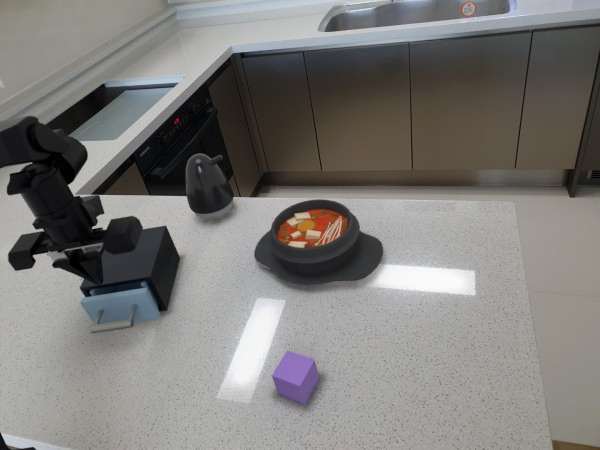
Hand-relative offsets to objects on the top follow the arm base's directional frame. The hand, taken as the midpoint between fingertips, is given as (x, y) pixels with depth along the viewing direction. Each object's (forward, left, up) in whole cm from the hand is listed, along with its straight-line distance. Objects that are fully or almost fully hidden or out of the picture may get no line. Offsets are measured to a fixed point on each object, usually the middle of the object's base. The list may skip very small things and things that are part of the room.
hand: (100, 282), depth 74 cm
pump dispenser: (+30, +17, -12) cm, 37 cm away
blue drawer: (+3, +4, -11) cm, 12 cm away
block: (+13, -31, -12) cm, 36 cm away
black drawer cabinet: (+7, +8, -12) cm, 16 cm away
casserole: (+34, -13, -12) cm, 38 cm away
